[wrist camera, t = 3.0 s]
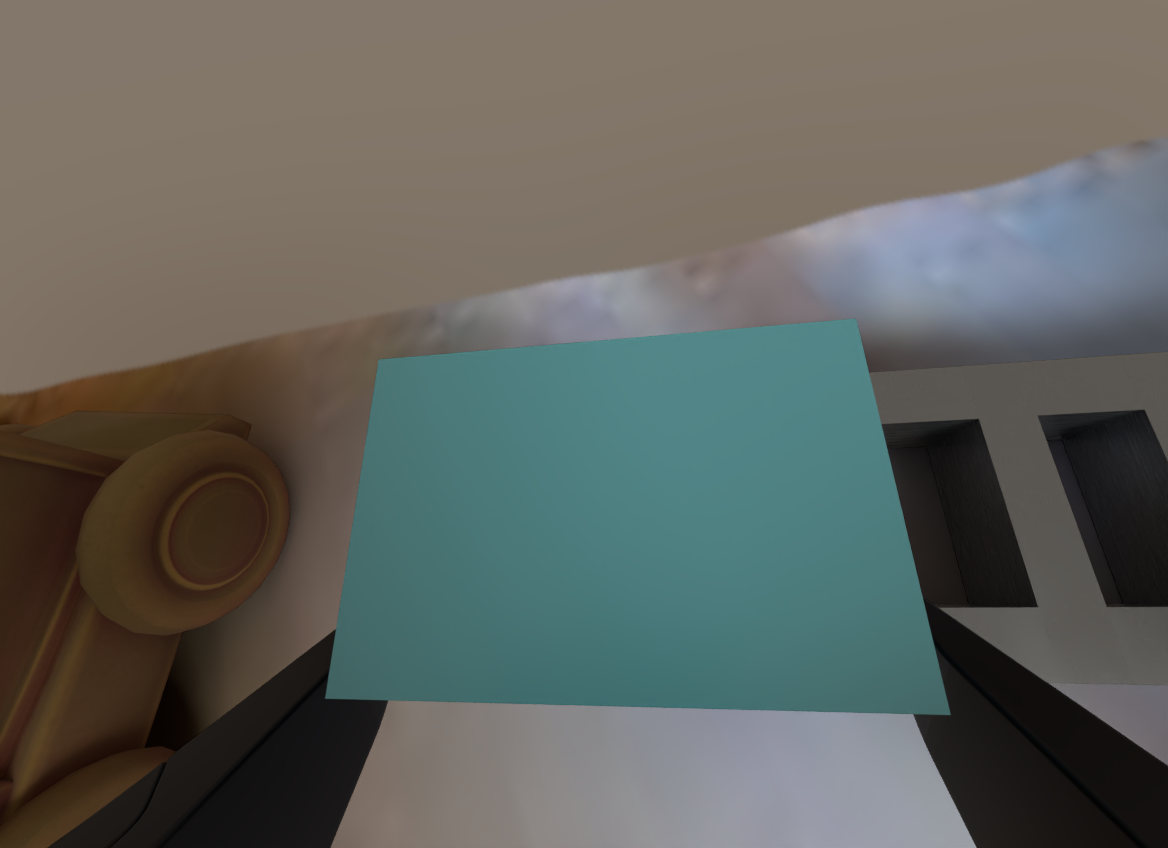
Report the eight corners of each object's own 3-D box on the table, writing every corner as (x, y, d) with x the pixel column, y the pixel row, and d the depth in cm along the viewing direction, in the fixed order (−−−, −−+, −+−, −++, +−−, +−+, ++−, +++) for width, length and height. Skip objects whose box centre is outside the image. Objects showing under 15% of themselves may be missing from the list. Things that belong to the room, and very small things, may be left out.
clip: (733, 621, 16) (951, 714, 4) (564, 621, 17) (325, 698, 5) (720, 506, 18) (856, 318, 5) (564, 511, 18) (378, 359, 6)
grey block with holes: (1500, 671, 13) (1735, 694, 10) (827, 663, 15) (864, 679, 13) (1322, 376, 16) (1463, 331, 13) (784, 409, 18) (807, 376, 16)
